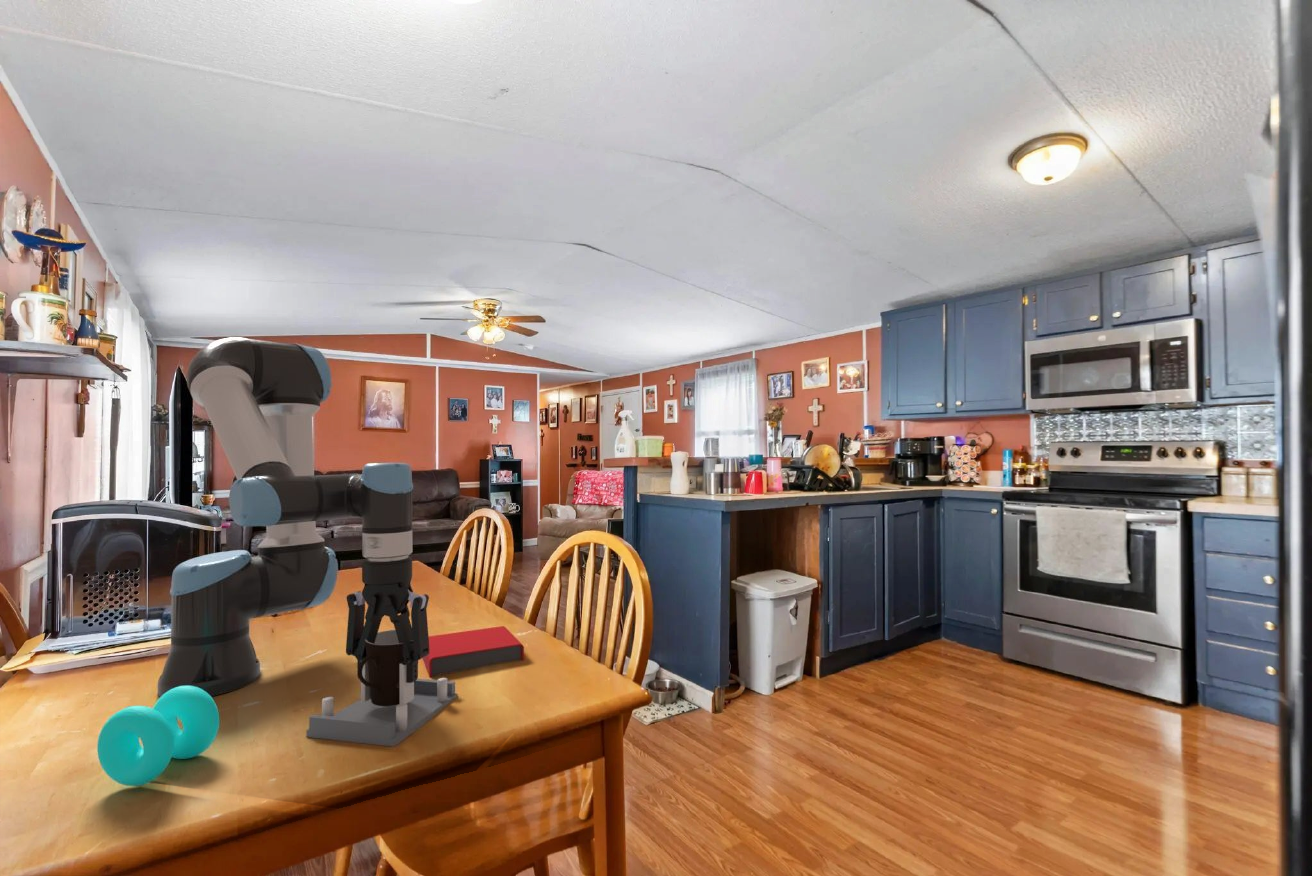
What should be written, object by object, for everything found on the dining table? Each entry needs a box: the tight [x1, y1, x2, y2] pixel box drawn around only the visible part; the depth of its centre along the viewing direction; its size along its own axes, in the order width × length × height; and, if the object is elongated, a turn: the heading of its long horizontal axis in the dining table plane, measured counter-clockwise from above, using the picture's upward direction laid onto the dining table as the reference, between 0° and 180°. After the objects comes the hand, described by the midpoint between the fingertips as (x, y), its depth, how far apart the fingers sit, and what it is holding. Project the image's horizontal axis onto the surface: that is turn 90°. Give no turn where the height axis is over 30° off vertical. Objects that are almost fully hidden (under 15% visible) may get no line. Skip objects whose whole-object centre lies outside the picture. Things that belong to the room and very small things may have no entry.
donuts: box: [96, 686, 220, 787], centre depth 83 cm, size 10×10×10 cm
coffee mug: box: [357, 629, 415, 706], centre depth 100 cm, size 12×9×10 cm
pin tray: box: [305, 677, 459, 748], centre depth 100 cm, size 15×17×4 cm
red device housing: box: [421, 625, 525, 678], centre depth 125 cm, size 18×14×5 cm
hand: (387, 699), depth 100 cm, fingers closed on coffee mug, 6 cm apart
